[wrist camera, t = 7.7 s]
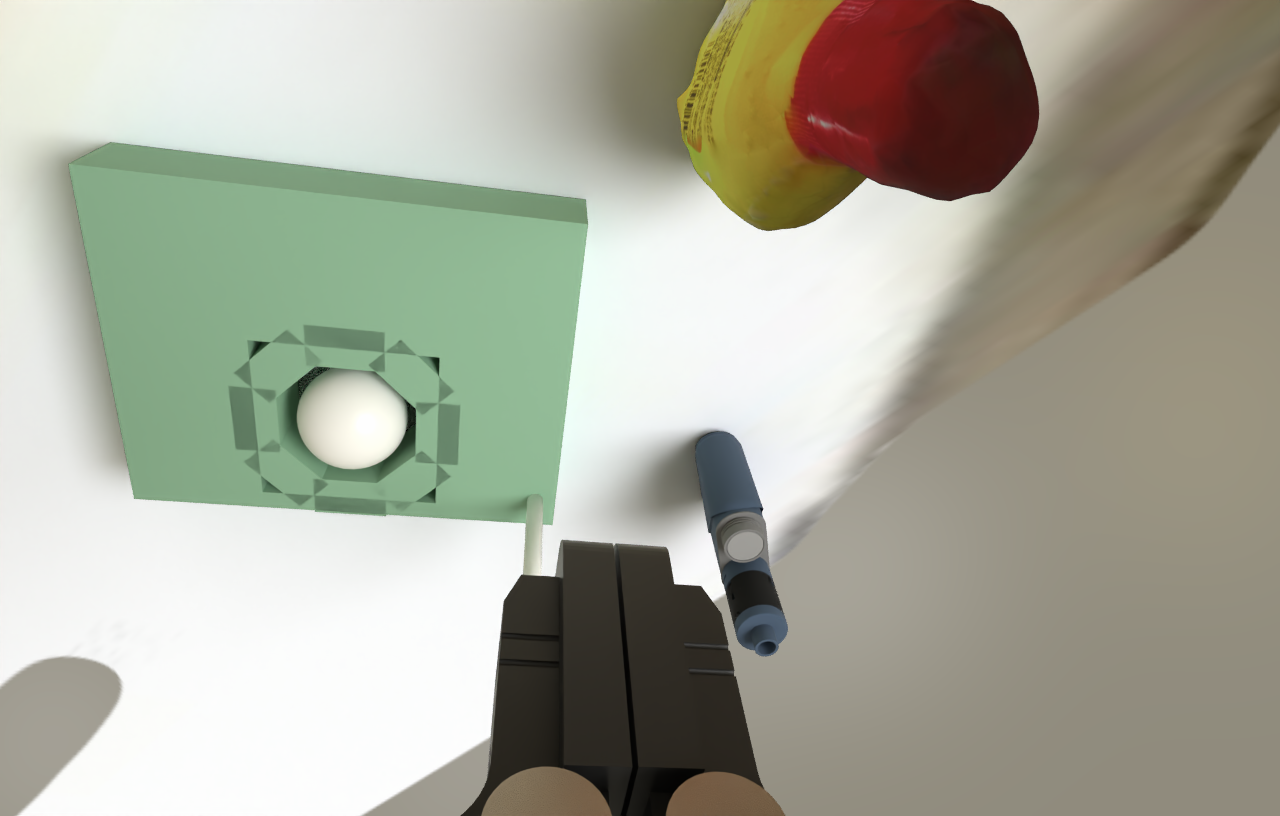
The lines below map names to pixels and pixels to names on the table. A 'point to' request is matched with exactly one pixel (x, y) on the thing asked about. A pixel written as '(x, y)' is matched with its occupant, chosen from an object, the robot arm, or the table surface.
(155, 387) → the green
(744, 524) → the vaping device
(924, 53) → the bottle
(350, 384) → the ball
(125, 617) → the table surface
